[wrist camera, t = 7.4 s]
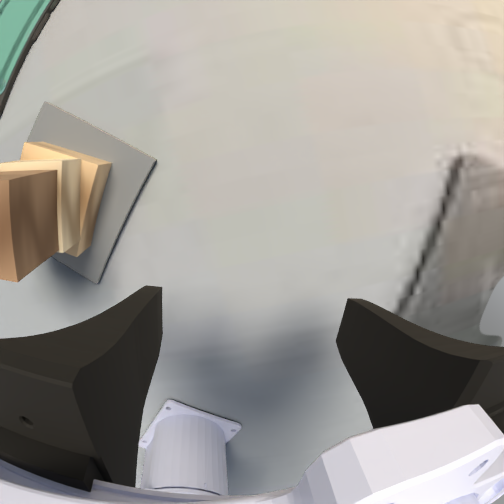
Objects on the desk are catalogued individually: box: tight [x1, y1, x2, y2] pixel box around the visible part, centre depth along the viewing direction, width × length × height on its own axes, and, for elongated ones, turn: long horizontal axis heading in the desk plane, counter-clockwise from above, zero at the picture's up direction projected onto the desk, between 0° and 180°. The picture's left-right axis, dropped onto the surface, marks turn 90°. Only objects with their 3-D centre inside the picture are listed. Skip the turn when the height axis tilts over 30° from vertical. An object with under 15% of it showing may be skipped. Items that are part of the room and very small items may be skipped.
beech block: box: [0, 159, 81, 253], centre depth 15 cm, size 5×5×2 cm
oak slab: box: [20, 142, 112, 257], centre depth 17 cm, size 6×6×2 cm
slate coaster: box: [20, 102, 157, 284], centre depth 18 cm, size 10×10×1 cm
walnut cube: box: [0, 170, 59, 282], centre depth 11 cm, size 4×4×4 cm
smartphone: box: [0, 0, 59, 116], centre depth 13 cm, size 7×1×15 cm
